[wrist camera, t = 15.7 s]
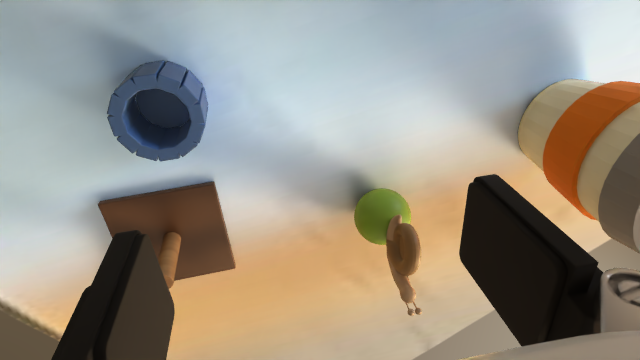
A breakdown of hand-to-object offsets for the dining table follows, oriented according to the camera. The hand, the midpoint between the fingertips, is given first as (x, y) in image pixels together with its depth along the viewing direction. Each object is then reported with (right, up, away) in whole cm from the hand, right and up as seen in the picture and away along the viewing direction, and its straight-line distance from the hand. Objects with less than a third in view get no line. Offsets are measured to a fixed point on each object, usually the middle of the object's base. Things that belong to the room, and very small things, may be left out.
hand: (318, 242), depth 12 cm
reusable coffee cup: (+24, +8, +29) cm, 39 cm away
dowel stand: (-14, -4, +26) cm, 30 cm away
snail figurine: (+5, -1, +30) cm, 30 cm away
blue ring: (-12, +8, +20) cm, 25 cm away
